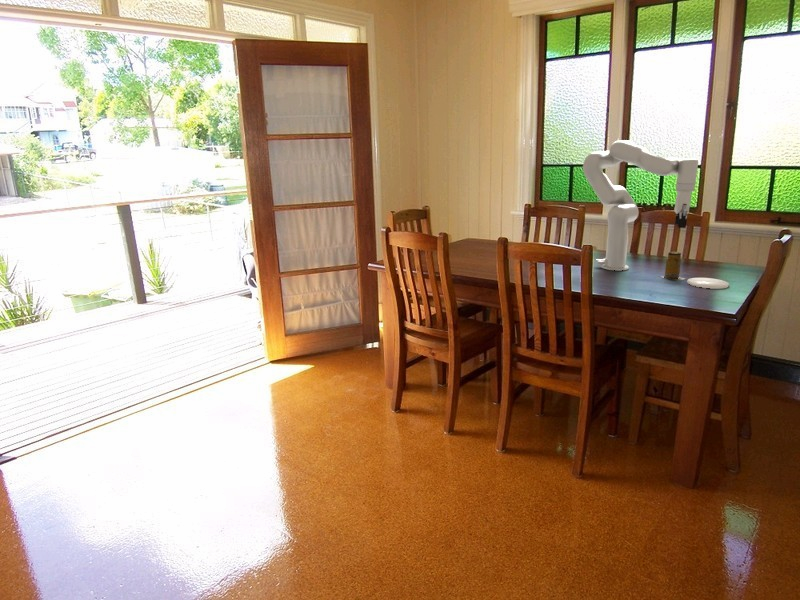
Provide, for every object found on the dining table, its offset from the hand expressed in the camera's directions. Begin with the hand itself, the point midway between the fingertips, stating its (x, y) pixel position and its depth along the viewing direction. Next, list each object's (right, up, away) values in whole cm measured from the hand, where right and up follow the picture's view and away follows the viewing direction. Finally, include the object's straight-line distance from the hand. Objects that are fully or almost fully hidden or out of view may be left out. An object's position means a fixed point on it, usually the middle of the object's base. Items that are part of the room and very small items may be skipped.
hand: (680, 226), depth 244 cm
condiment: (0, -24, +7) cm, 25 cm away
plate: (+10, -26, -5) cm, 29 cm away
